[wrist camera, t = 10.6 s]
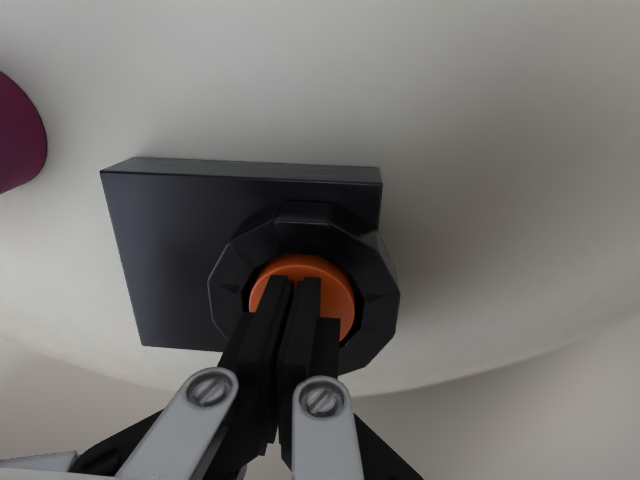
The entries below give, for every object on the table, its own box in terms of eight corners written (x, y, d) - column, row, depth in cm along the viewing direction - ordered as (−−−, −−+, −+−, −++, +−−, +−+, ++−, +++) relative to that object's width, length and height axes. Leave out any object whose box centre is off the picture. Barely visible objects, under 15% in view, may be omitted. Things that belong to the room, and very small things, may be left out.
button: (358, 244, 13) (358, 269, 11) (352, 325, 14) (351, 357, 13) (258, 238, 13) (245, 261, 12) (262, 319, 15) (251, 349, 13)
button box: (399, 167, 14) (413, 202, 10) (380, 332, 18) (386, 400, 14) (132, 156, 15) (60, 185, 11) (164, 316, 18) (117, 377, 15)
